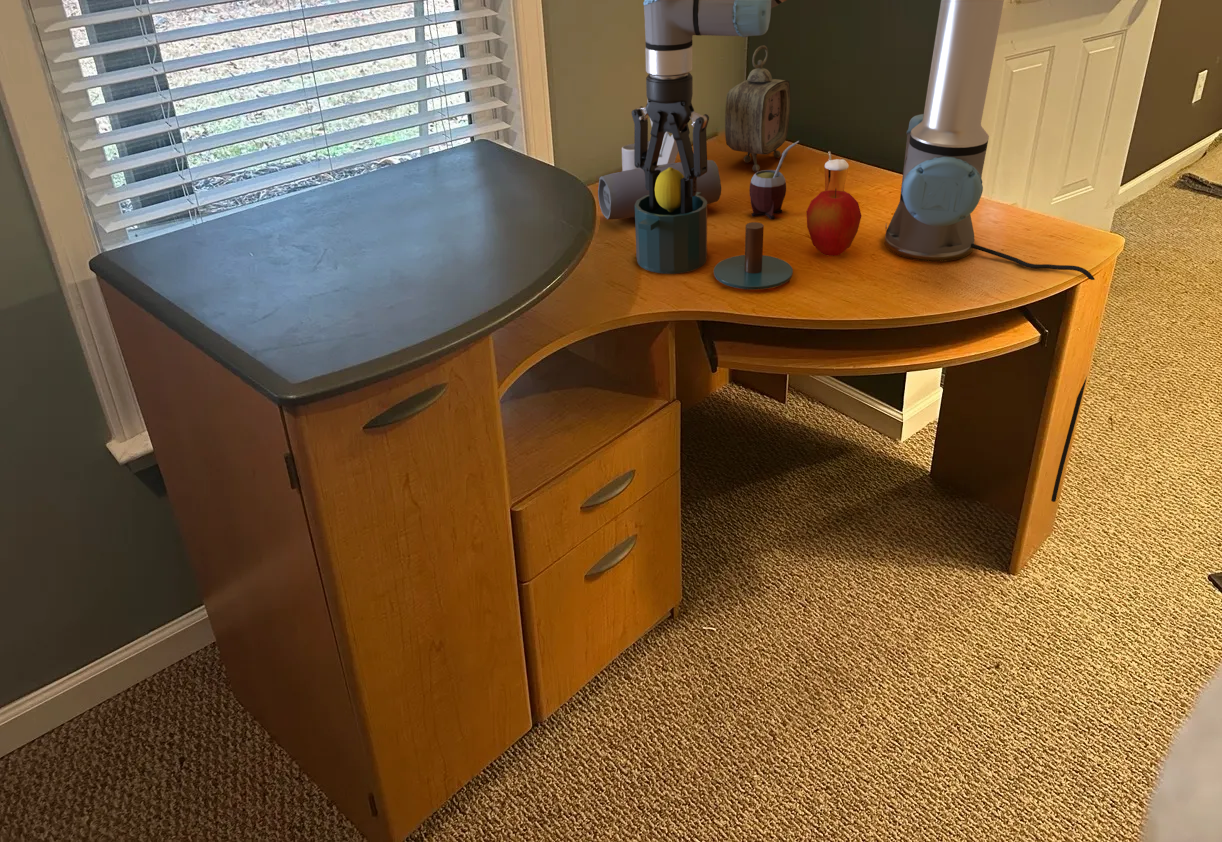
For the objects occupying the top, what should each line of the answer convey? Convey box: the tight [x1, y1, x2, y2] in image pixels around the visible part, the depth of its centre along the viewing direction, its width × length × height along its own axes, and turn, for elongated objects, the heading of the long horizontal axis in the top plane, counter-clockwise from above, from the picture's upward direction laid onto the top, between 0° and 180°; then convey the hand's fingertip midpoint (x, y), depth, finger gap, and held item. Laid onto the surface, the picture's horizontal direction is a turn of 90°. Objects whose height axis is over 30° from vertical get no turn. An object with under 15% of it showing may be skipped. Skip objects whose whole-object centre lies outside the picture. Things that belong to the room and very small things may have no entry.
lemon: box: [655, 167, 684, 212], centre depth 169 cm, size 6×6×8 cm
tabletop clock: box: [724, 45, 791, 173], centre depth 213 cm, size 14×9×25 cm, turn 147°
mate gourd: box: [749, 140, 800, 220], centre depth 189 cm, size 8×8×15 cm
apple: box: [805, 189, 862, 257], centre depth 172 cm, size 9×9×12 cm
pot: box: [634, 192, 708, 275], centre depth 173 cm, size 12×18×10 cm
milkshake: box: [824, 150, 850, 191], centre depth 193 cm, size 4×5×10 cm
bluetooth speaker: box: [597, 159, 722, 220], centre depth 192 cm, size 23×9×10 cm, turn 108°
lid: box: [713, 221, 794, 291], centre depth 166 cm, size 13×13×9 cm
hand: (671, 210), depth 171 cm, fingers closed on lemon, 5 cm apart
